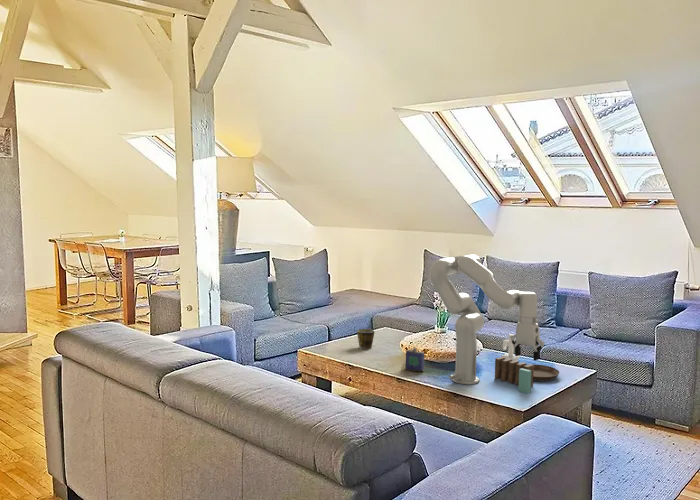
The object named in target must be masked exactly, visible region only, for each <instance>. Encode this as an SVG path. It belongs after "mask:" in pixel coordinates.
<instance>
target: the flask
mask: <svg viewBox="0 0 700 500" xmlns="http://www.w3.org/2000/svg"><path fill="white" fill-rule="evenodd" d="M417 349H418V348H417V347H413V349H406V351H405V363H404V364H405V370H406V369H408V370H407V371H410V370H415V371H414V372H417V371H424V372H425V352H424V351H418V350H417Z"/></svg>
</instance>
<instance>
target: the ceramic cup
mask: <svg viewBox="0 0 700 500" xmlns="http://www.w3.org/2000/svg"><path fill="white" fill-rule="evenodd" d="M356 335H357V341H358V348H359V349H360V350H365V351H366V349H367V350H371V349H372V346H373V342H374V338H375V330H374V329H370V328H361V329H357V330H356Z"/></svg>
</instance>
